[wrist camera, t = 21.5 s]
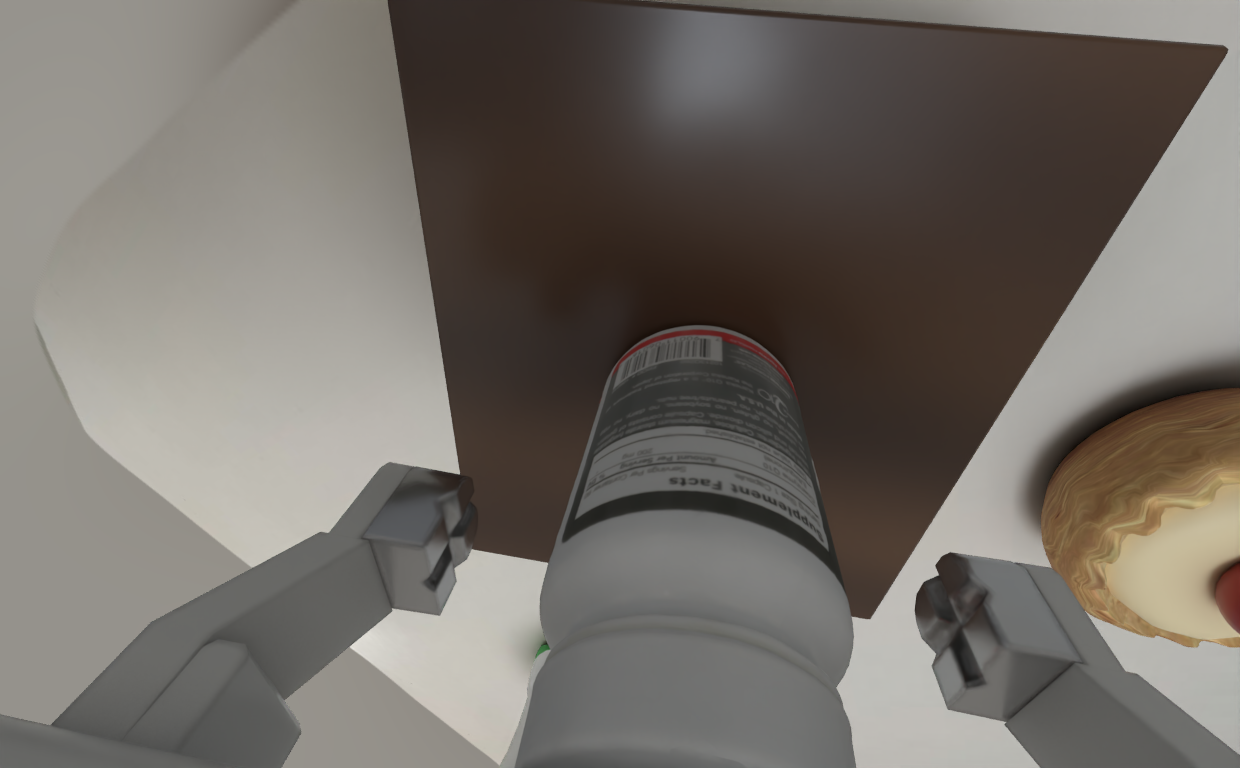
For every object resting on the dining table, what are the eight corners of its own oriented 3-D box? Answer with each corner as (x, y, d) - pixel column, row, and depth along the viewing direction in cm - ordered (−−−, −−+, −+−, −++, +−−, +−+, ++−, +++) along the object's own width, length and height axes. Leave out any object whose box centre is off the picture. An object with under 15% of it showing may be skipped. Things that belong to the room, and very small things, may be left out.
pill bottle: (736, 495, 14) (760, 919, 7) (581, 434, 14) (450, 820, 7) (837, 367, 11) (1027, 845, 5) (648, 286, 11) (544, 676, 4)
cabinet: (818, 434, 24) (871, 621, 16) (545, 394, 25) (470, 550, 17) (967, 47, 15) (1235, 45, 8) (538, 13, 17) (381, -20, 9)
